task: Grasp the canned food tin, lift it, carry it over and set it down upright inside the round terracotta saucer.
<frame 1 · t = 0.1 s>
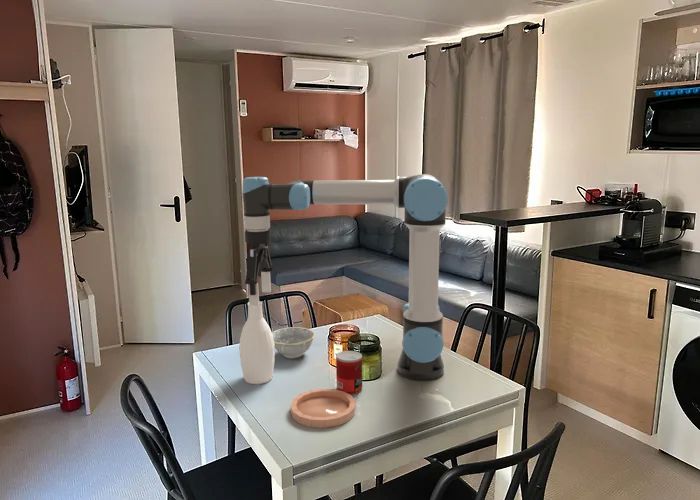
hand: (260, 298, 163), 28 cm above the table, fingers open, 13 cm apart
canned food: (349, 389, 165), on the table
bottle: (258, 379, 173), on the table
tray: (323, 410, 151), on the table
bowl: (292, 355, 191), on the table
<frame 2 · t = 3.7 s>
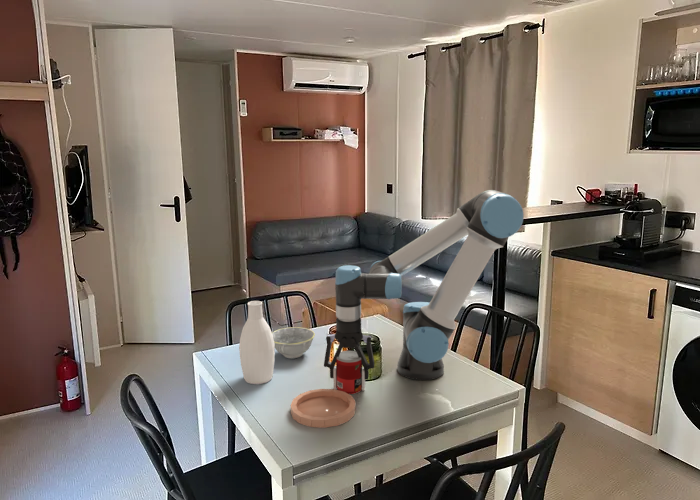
hand: (349, 388, 164), 0 cm above the table, fingers closed on canned food, 8 cm apart
canned food: (349, 389, 165), on the table, touching gripper
everything else where it was.
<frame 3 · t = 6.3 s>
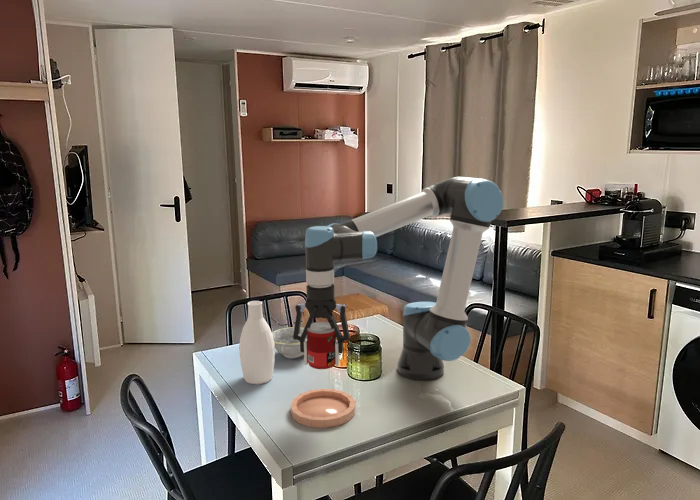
hand: (322, 363, 149), 14 cm above the table, fingers closed on canned food, 8 cm apart
canned food: (322, 364, 149), point 14 cm above the table, touching gripper
everything else where it was.
when the fingers open (2 cm above the table, at t = 9.1 s): canned food drops 2 cm, resting on tray.
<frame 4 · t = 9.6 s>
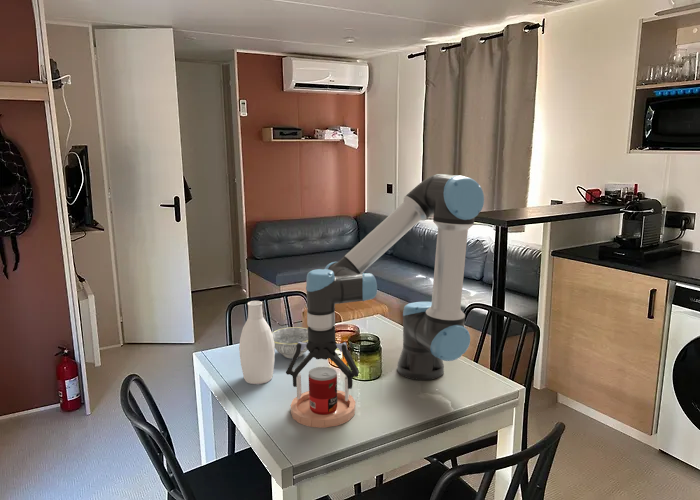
hand: (323, 397, 151), 4 cm above the table, fingers open, 13 cm apart
canned food: (323, 409, 151), resting on tray
everything else where it was.
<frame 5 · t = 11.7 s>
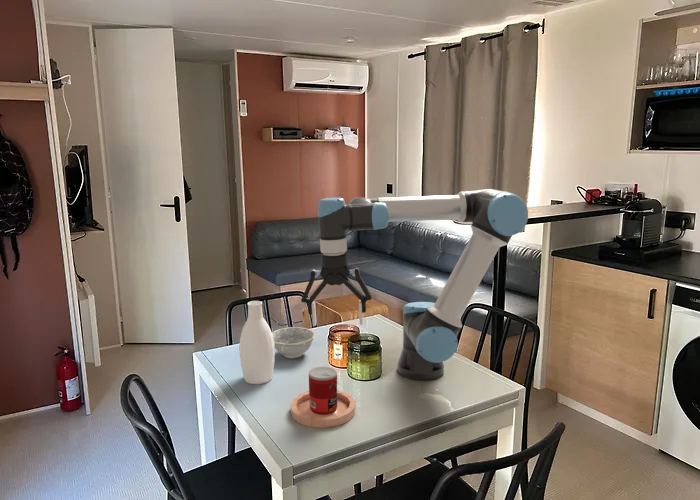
hand: (338, 323, 156), 22 cm above the table, fingers open, 13 cm apart
nothing on the table moved.
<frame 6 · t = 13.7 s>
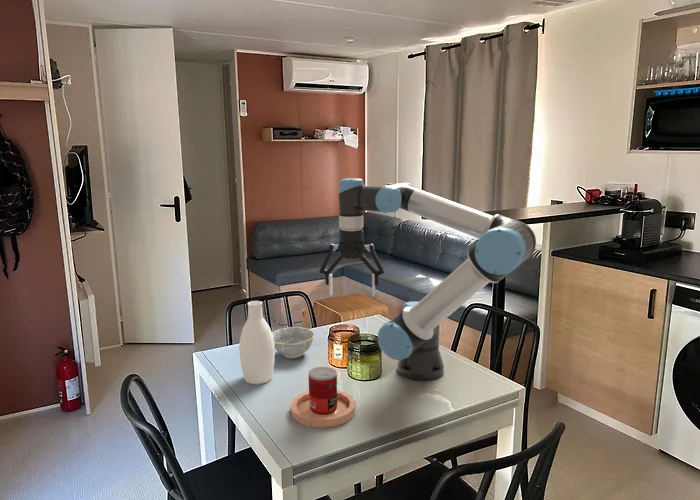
hand: (352, 295, 170), 27 cm above the table, fingers open, 13 cm apart
nothing on the table moved.
at the end: canned food 0.1 cm from the tray (horizontally); canned food tilted 0°; the gripper is holding nothing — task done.
